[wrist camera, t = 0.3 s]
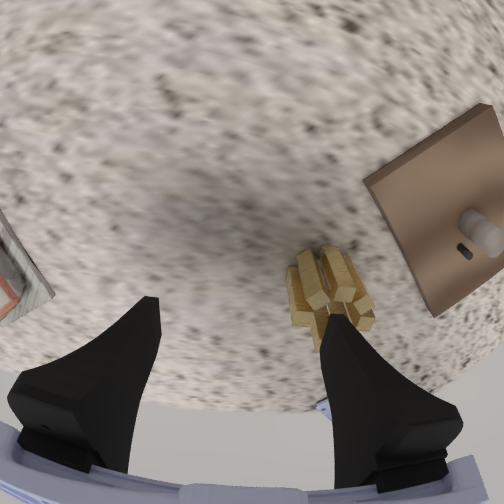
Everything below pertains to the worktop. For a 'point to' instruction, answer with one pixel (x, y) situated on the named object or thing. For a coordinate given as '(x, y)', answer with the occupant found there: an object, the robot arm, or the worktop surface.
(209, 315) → the worktop surface
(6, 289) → the packaged product
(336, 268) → the wooden block ring
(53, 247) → the worktop surface
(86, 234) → the worktop surface
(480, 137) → the post base
